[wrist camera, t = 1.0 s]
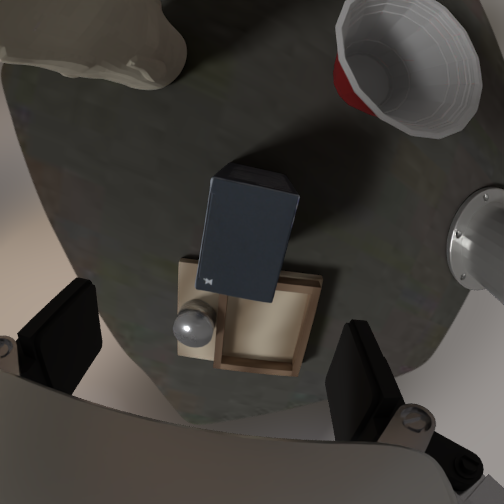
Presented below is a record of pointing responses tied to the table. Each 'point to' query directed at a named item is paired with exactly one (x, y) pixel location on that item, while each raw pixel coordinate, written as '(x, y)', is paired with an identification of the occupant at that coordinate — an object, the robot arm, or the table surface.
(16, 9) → the vase
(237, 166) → the box
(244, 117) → the table surface
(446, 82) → the plastic cup
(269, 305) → the plate
